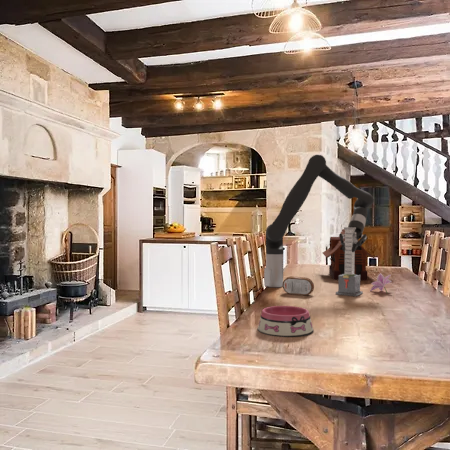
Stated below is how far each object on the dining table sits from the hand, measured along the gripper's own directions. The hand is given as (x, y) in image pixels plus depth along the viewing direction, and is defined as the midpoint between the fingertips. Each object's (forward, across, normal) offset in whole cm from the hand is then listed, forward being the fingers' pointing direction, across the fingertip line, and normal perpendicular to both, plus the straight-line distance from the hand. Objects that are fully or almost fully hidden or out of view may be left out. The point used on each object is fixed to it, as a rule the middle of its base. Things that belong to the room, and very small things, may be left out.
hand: (348, 250), depth 219 cm
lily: (+4, +12, +27) cm, 29 cm away
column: (+8, 0, +11) cm, 14 cm away
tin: (+25, -20, +5) cm, 32 cm away
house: (-28, -21, +58) cm, 67 cm away
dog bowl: (+70, +5, -40) cm, 81 cm away
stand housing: (+13, 0, +16) cm, 21 cm away
